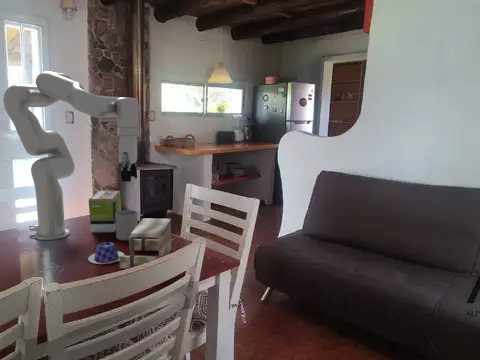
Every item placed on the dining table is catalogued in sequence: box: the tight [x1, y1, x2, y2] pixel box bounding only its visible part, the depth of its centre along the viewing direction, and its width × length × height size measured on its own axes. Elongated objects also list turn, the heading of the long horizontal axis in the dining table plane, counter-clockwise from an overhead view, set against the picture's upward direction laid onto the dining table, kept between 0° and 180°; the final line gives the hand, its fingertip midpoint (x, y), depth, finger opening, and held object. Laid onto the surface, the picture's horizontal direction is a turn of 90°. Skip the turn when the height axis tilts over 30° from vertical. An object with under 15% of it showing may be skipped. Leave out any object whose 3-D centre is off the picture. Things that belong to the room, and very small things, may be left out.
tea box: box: [88, 190, 122, 233], centre depth 166 cm, size 15×10×15 cm, turn 5°
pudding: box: [87, 241, 126, 265], centre depth 133 cm, size 12×12×5 cm
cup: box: [115, 209, 139, 241], centre depth 155 cm, size 8×8×10 cm
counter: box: [118, 217, 172, 269], centre depth 133 cm, size 14×18×12 cm
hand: (129, 178), depth 143 cm, fingers open, 9 cm apart
